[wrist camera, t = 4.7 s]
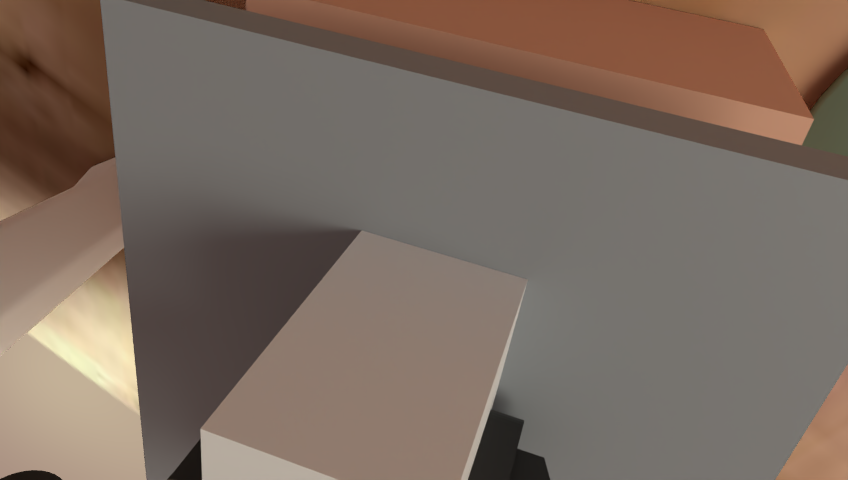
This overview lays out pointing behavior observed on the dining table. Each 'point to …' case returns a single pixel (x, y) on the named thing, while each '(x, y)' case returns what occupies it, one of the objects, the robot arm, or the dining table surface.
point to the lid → (455, 263)
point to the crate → (588, 52)
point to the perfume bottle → (56, 249)
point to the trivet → (831, 119)
